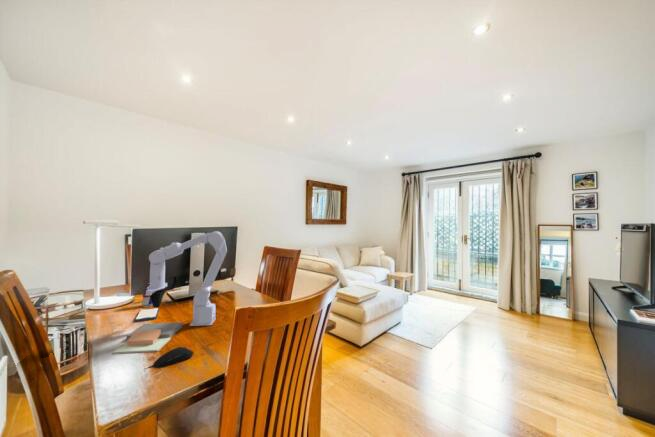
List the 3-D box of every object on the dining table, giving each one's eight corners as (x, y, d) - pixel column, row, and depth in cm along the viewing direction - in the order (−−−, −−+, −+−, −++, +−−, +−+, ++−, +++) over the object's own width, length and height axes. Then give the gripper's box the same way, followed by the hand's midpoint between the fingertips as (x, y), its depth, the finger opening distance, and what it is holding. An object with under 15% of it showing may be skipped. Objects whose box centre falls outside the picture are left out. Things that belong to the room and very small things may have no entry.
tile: (161, 333, 102) (160, 329, 102) (153, 344, 97) (152, 339, 96) (137, 334, 101) (136, 330, 101) (127, 345, 95) (126, 341, 95)
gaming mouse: (141, 366, 84) (142, 354, 84) (190, 351, 94) (190, 340, 94) (144, 375, 79) (144, 362, 79) (195, 358, 89) (195, 347, 89)
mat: (170, 338, 102) (170, 337, 102) (157, 351, 92) (157, 349, 92) (130, 340, 100) (130, 339, 100) (112, 353, 90) (112, 352, 90)
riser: (182, 326, 114) (182, 322, 114) (169, 338, 102) (169, 334, 102) (144, 328, 112) (144, 323, 112) (126, 340, 100) (126, 335, 100)
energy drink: (144, 308, 138) (145, 286, 138) (140, 306, 141) (141, 284, 141) (155, 305, 142) (156, 284, 142) (151, 303, 145) (151, 282, 145)
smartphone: (139, 313, 132) (134, 323, 118) (139, 310, 132) (134, 319, 118) (159, 310, 136) (156, 320, 122) (159, 307, 136) (156, 316, 122)
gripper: (156, 273, 120) (155, 302, 119) (138, 280, 105) (137, 313, 105) (172, 273, 121) (171, 301, 120) (156, 280, 106) (155, 312, 106)
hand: (156, 306), depth 113 cm, fingers closed
